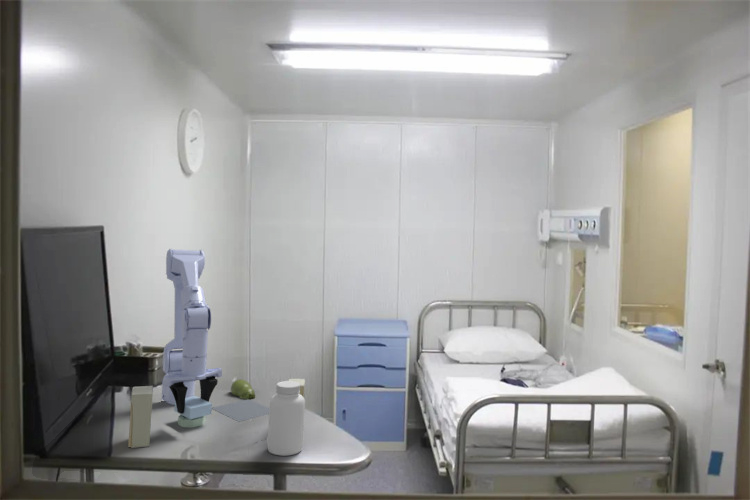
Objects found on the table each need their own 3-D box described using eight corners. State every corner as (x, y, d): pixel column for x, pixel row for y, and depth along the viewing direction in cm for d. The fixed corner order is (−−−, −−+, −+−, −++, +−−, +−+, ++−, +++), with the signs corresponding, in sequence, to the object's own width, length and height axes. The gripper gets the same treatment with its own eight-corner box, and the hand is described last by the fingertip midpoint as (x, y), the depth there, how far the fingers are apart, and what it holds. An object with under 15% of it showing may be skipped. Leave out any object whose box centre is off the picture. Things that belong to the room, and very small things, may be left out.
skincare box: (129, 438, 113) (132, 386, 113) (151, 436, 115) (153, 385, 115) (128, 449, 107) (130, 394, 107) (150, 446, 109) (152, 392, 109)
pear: (245, 375, 151) (261, 388, 143) (243, 391, 151) (258, 405, 144) (228, 378, 147) (244, 391, 140) (226, 394, 148) (241, 409, 140)
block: (174, 410, 122) (174, 400, 122) (195, 405, 126) (195, 396, 126) (190, 419, 116) (190, 408, 116) (211, 413, 121) (211, 403, 121)
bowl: (174, 427, 121) (174, 415, 121) (196, 421, 125) (197, 409, 125) (186, 433, 117) (186, 421, 117) (208, 427, 121) (209, 415, 121)
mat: (210, 412, 133) (210, 407, 133) (248, 403, 142) (248, 399, 142) (238, 426, 123) (239, 421, 123) (277, 415, 132) (277, 411, 132)
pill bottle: (295, 458, 106) (298, 390, 106) (261, 454, 108) (264, 386, 108) (307, 444, 114) (310, 380, 114) (275, 440, 115) (278, 377, 115)
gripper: (173, 362, 113) (171, 420, 113) (229, 354, 124) (227, 407, 124) (160, 357, 118) (157, 413, 118) (214, 349, 129) (212, 400, 129)
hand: (192, 409), depth 121 cm, fingers closed on block, 5 cm apart
